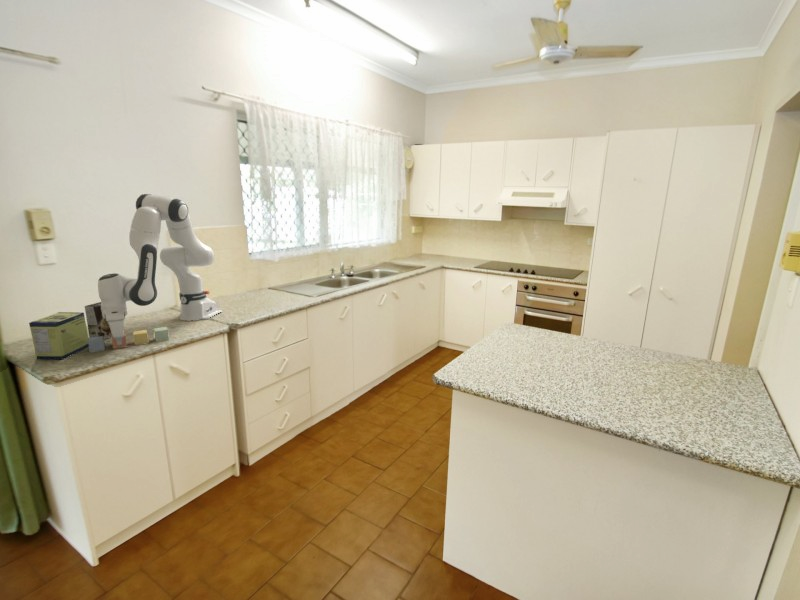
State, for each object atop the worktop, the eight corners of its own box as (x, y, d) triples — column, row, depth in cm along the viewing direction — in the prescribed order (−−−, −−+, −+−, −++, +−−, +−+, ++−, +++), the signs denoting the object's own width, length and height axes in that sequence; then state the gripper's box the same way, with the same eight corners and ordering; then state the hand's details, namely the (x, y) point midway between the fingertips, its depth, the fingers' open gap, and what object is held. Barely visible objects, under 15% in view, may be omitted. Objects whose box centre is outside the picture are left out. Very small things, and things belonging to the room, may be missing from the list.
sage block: (167, 336, 189) (166, 326, 187) (168, 339, 185) (167, 329, 184) (155, 338, 186) (153, 328, 185) (156, 341, 182) (155, 331, 181)
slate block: (104, 346, 175) (102, 335, 174) (104, 350, 171) (102, 339, 170) (90, 349, 172) (88, 338, 171) (90, 352, 168) (88, 341, 167)
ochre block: (147, 340, 184) (146, 329, 183) (148, 343, 180) (147, 332, 179) (134, 342, 181) (133, 331, 180) (135, 345, 177) (133, 334, 176)
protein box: (90, 346, 175) (84, 311, 172) (62, 360, 160) (55, 322, 156) (66, 345, 175) (59, 311, 171) (35, 359, 160) (27, 322, 156)
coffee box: (101, 341, 181) (95, 306, 177) (89, 340, 182) (83, 305, 178) (118, 334, 190) (113, 301, 186) (107, 333, 191) (101, 300, 187)
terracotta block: (126, 343, 180) (125, 332, 178) (127, 346, 176) (125, 335, 174) (113, 345, 177) (111, 334, 176) (113, 348, 173) (111, 337, 172)
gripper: (105, 307, 179) (110, 336, 182) (105, 318, 163) (111, 350, 166) (122, 305, 182) (127, 334, 186) (124, 316, 166) (129, 347, 170)
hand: (119, 342), depth 176 cm, fingers closed on terracotta block, 5 cm apart
